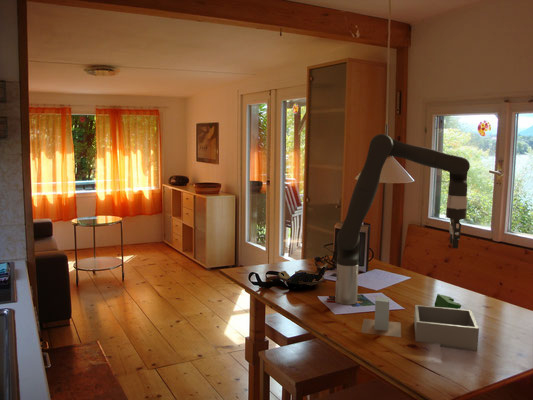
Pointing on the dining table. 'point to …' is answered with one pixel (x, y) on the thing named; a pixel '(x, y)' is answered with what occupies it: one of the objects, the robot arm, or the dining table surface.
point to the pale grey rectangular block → (381, 313)
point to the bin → (446, 327)
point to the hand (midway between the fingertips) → (453, 245)
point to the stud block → (393, 330)
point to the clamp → (446, 302)
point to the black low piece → (286, 275)
